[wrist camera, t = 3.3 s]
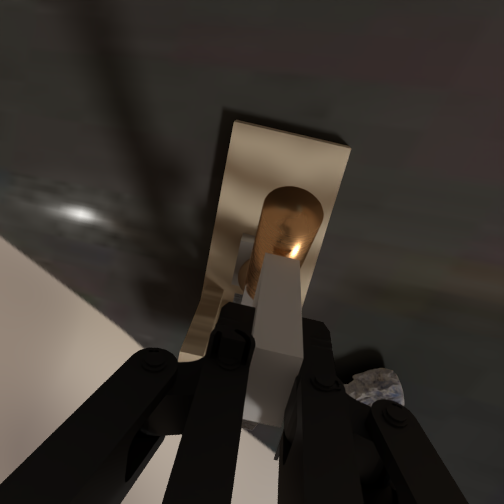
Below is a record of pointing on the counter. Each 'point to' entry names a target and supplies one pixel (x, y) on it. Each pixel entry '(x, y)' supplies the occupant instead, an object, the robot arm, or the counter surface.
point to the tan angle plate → (259, 212)
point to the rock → (375, 386)
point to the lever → (281, 237)
